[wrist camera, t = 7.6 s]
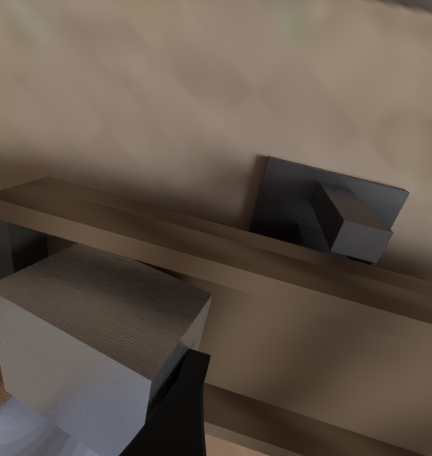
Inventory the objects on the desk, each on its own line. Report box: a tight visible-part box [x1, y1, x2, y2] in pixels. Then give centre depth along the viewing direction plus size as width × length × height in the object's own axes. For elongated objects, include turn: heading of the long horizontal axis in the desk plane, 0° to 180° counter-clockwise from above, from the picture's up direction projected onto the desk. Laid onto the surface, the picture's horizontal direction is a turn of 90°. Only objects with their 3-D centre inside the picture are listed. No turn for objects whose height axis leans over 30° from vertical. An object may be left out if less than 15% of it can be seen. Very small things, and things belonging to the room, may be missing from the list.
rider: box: [0, 243, 212, 456], centre depth 10 cm, size 7×5×5 cm
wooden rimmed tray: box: [0, 177, 432, 456], centre depth 12 cm, size 26×9×3 cm, turn 79°
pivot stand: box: [248, 157, 409, 265], centre depth 15 cm, size 7×14×6 cm, turn 169°
